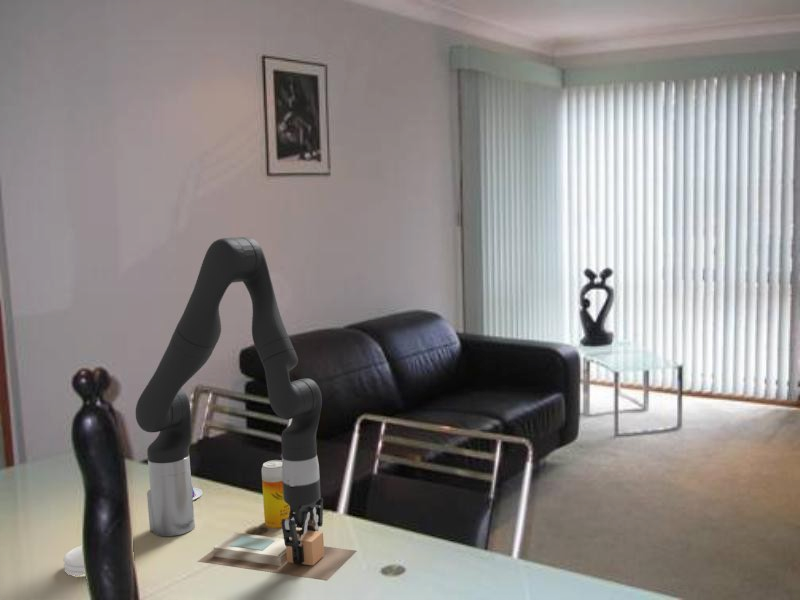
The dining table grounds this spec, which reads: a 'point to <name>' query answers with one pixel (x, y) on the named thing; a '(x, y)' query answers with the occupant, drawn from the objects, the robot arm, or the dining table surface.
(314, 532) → the light orange cube
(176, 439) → the robot arm
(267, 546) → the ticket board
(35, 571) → the dining table surface
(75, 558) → the white frilly dome
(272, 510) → the beer can
